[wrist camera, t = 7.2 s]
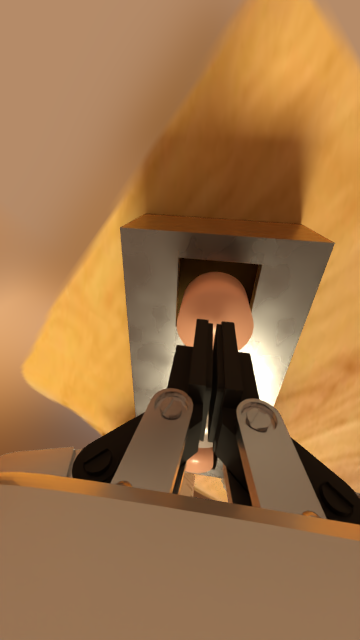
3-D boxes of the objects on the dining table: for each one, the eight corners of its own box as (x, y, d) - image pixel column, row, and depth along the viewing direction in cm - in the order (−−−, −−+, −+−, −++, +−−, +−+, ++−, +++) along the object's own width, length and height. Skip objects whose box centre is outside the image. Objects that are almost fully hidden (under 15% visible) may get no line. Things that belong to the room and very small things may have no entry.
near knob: (253, 274, 14) (261, 296, 11) (241, 331, 16) (245, 361, 13) (185, 268, 14) (178, 289, 12) (181, 325, 16) (175, 352, 14)
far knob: (215, 426, 25) (215, 454, 23) (211, 448, 27) (210, 475, 25) (178, 421, 26) (174, 448, 23) (177, 442, 28) (173, 469, 25)
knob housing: (301, 224, 18) (334, 242, 13) (240, 432, 31) (245, 481, 26) (145, 213, 19) (120, 227, 14) (151, 419, 33) (139, 464, 27)
